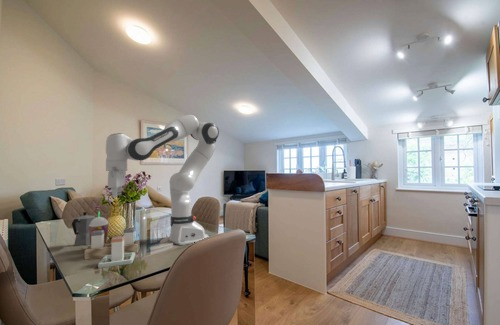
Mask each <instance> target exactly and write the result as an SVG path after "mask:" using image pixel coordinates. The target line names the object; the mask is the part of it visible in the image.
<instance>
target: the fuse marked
mask: <svg viewBox="0 0 500 325" xmlns="http://www.w3.org/2000/svg"><path fill="white" fill-rule="evenodd" d="M110 243H112V246H111V259H110V260H111V261H110V262H113V261H121V260H125V257H124V235H117V236H113V237H112V238H111V242H110Z"/></svg>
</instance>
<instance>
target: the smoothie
mask: <svg viewBox="0 0 500 325" xmlns="http://www.w3.org/2000/svg"><path fill="white" fill-rule="evenodd" d="M100 214H101V212H100V210H99V211H98V213H97V215H98V216H96V217H95V218H94V219H93V220H92V221H91V223H90V225H89V236H90V245H91V233H92V232H93V231H97V230H104V244H108V234H109V221H108V220H107V219H106V217H102V216H100ZM90 245H89V246H90Z"/></svg>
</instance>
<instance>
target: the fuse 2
mask: <svg viewBox="0 0 500 325" xmlns="http://www.w3.org/2000/svg"><path fill="white" fill-rule="evenodd" d="M135 230H136V227H135V226H133V227H125V228H124V229H123V236H124V245H133V244H135V241H136V240H135V238H136V237H135Z"/></svg>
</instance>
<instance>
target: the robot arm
mask: <svg viewBox="0 0 500 325" xmlns="http://www.w3.org/2000/svg"><path fill="white" fill-rule="evenodd" d="M219 130H220V129H219V127H218V125H216V124H214V123H213V122H203V121H202V122H200V121H199V119H198V118H197V117H196V116H195V115H194V114H186V115H183V116H180V117H177V118H175V119H174V120H171V121H170V122H169V123H167V124H166V125H164V128H163V129H162V130H161V131H159V132H156V133H155V134H152V135H151V136H149V137H143V138H135V139H133V138H131V137H129V136H128V135H126V134H125V133H119V132H118V133H111V134H109V135H108V136H107V137H106V141H105V154H106V157H105V172H108V173H107V188H108V189H111V190H110V192H111V194H112V198H113V199H114V198H116V199H117V197H118V196H121V195H122V189H123V187H124V186H125V184H126V174H127V173H126V172H127V171H128V160H131V161H136V162H137V161H145V160H147V159H149V158H150V157H151V156H152V154H154V153H153V152H155V151H156V150H157V149H159V148H160V147H162V146H164V145H166V144H168V143H170V142H177V141H180V140H182V139H184V138H186V137H188V136H191V137H192V138H193V139H194V140H196V141H198V144H197V146H196V147H194V149H193V151H192V152H191V153H190V155H189V156H187V159H185V161H184V163H183V164H182V166H181V168H180V170H179V171H177V172H175V173H173V174H172V175H171V176H170V178H169V191H170V192H169V194H170V195H169V196H170V202H171V208H170V209H171V212H170V213H171V215H170V222H169V225H170V233H169V238H168V240H169V241H171V242H172V244H174V245H178V246H179V245H180V246H185V245H190V244H195V243H194V242H197V241H199V240H202V239H204V238H207V237H209V238H210V236H209V234H207V233H206V232H205V231H206V230H205V228H204V226H203V225H201V224H200V223H198V222H197V221H196V220H197V217H196V216H195V215H193V214H192V199H191V194H190V191H191V190H192V189H193V188H194V187H195V184H196V182H197V180H198V178H199V177H200V175H201V173H202V171H203V169H204V168H205V166H206V165H207V164H208V163H209V161H210V160H211V158H212V157H213V155H214V153H215V150H216V145H215V143H216V142H217V139H218V137H219V134H220V131H219ZM197 243H198V242H197Z"/></svg>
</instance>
